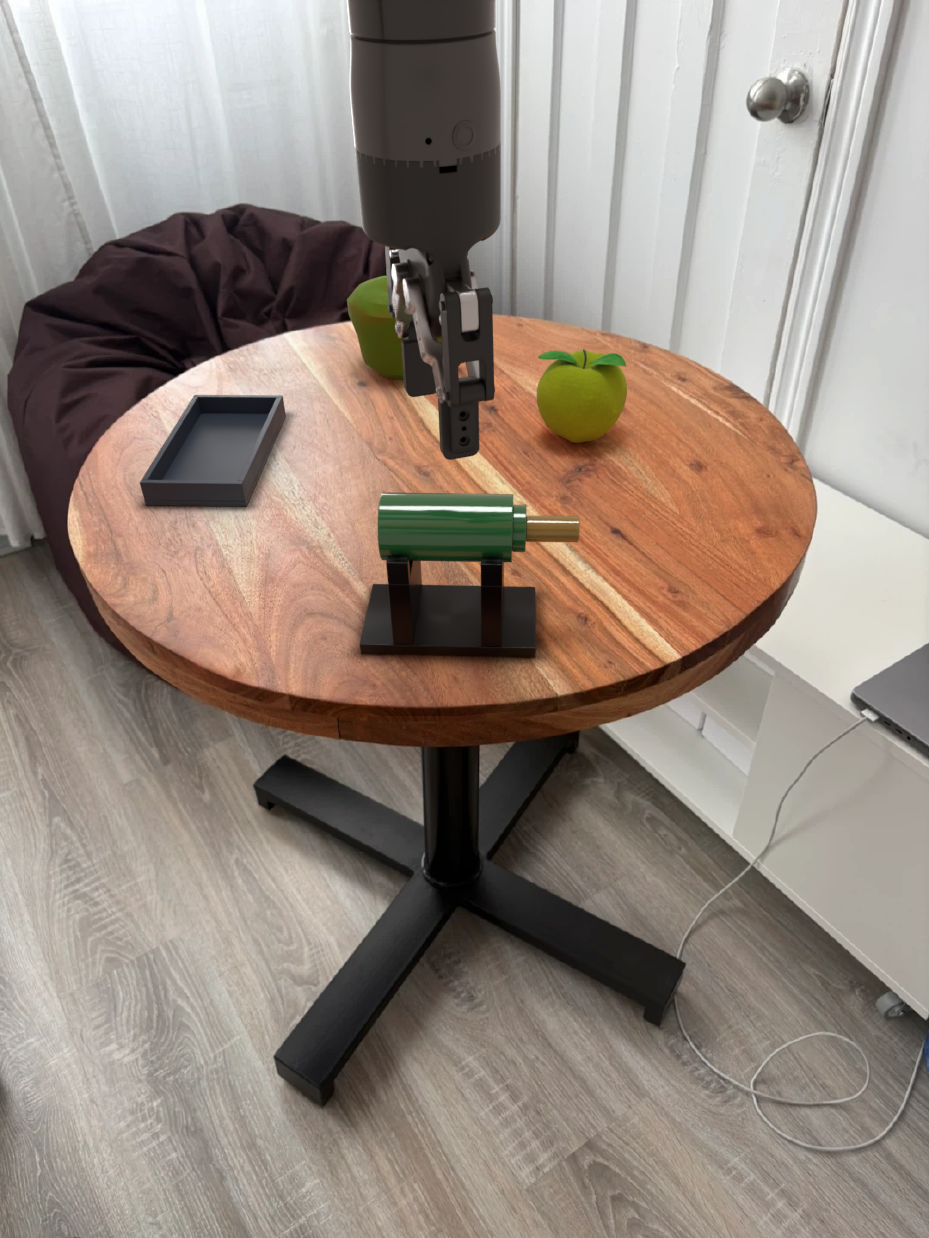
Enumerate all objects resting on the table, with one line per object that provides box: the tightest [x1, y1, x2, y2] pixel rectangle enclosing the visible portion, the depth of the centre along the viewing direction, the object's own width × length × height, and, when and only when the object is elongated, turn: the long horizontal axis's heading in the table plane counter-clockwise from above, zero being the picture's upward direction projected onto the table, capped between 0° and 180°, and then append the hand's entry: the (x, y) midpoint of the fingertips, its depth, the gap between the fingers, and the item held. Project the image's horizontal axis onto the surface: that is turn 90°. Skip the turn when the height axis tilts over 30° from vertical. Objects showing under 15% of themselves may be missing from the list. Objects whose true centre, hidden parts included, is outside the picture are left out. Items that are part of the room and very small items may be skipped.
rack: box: [359, 555, 537, 658], centre depth 74 cm, size 14×8×9 cm, turn 87°
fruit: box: [536, 348, 628, 444], centre depth 98 cm, size 9×9×10 cm
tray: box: [139, 394, 287, 507], centre depth 98 cm, size 19×10×3 cm, turn 177°
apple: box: [346, 275, 442, 382], centre depth 112 cm, size 12×12×11 cm
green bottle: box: [377, 491, 581, 564], centre depth 70 cm, size 15×5×5 cm, turn 87°
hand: (440, 422), depth 57 cm, fingers open, 8 cm apart
